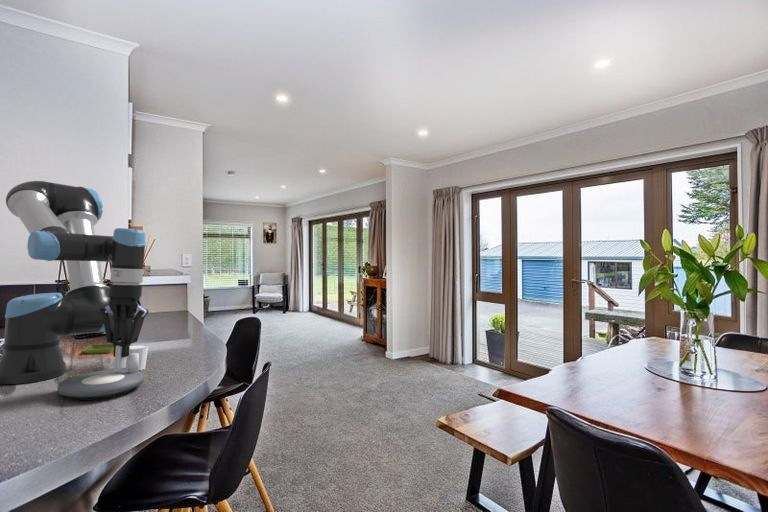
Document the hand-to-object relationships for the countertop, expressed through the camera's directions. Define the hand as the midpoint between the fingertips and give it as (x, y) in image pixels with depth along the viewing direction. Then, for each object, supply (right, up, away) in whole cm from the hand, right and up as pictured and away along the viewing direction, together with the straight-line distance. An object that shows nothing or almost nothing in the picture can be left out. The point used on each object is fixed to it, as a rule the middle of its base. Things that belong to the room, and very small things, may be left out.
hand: (120, 368), depth 104 cm
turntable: (0, -3, -6) cm, 6 cm away
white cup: (-5, -4, +13) cm, 15 cm away
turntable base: (0, -4, -6) cm, 7 cm away
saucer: (-31, -4, +33) cm, 45 cm away
